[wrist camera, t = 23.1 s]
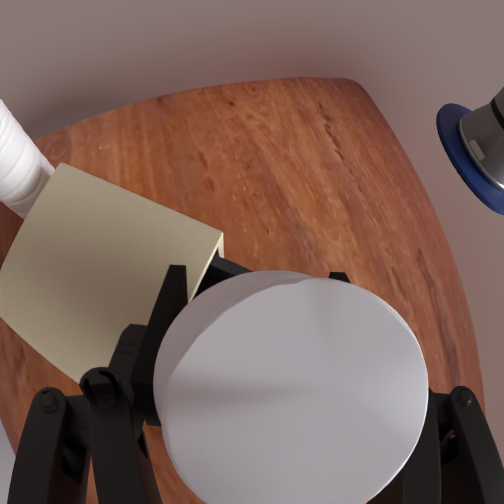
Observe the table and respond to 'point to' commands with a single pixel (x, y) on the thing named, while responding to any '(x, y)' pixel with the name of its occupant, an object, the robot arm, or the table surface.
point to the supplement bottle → (289, 391)
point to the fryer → (94, 267)
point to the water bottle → (20, 166)
